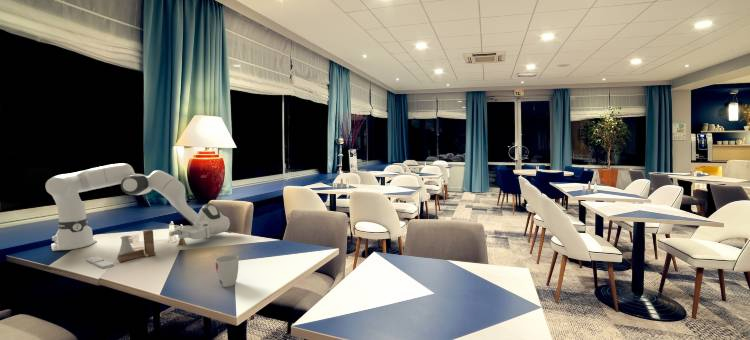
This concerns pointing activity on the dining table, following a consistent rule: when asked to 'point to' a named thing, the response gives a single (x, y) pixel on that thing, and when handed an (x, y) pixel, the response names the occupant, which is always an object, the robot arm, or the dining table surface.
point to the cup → (227, 269)
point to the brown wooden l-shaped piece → (139, 250)
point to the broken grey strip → (99, 262)
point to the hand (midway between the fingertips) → (174, 235)
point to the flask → (125, 246)
